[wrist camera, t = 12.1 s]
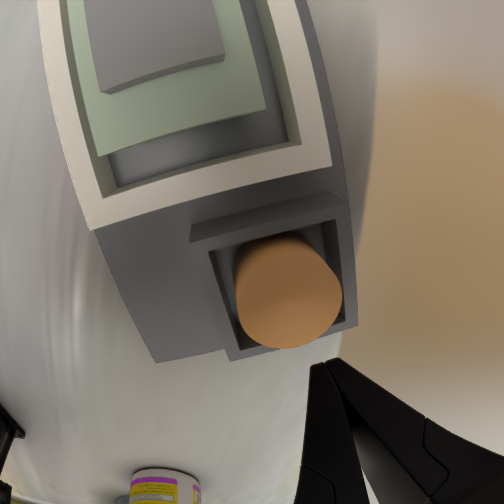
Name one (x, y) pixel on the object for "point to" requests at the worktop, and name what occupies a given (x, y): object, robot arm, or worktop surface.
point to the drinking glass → (122, 500)
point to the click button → (284, 291)
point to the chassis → (211, 187)
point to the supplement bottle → (163, 488)
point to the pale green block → (161, 67)
